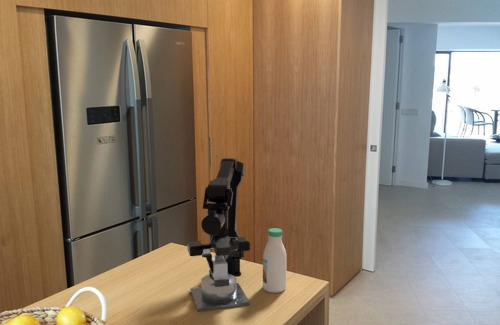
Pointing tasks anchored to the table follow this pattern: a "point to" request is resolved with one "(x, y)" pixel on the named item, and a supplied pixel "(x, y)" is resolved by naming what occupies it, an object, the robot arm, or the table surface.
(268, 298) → the table surface
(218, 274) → the pump
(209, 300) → the grey stacked fixture
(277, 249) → the milk bottle
